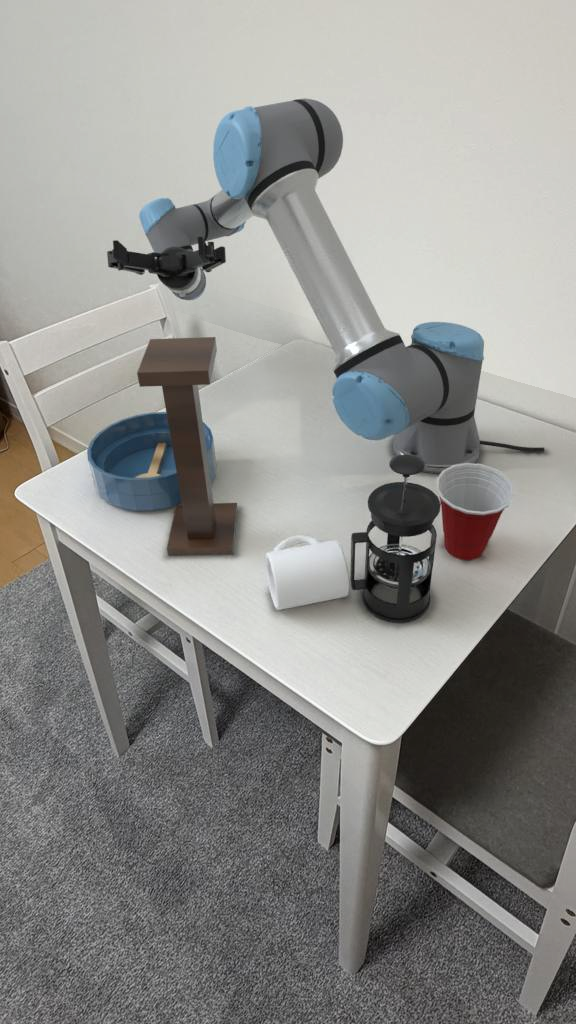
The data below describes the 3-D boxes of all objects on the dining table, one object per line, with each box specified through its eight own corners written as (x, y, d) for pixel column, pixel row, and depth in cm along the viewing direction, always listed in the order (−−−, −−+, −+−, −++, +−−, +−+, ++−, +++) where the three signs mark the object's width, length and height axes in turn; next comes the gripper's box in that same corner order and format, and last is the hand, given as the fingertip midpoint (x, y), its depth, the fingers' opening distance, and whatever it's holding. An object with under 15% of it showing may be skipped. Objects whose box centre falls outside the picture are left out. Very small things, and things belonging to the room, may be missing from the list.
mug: (349, 608, 94) (350, 565, 89) (278, 622, 93) (276, 580, 88) (325, 552, 104) (325, 511, 99) (261, 564, 102) (257, 523, 97)
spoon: (147, 447, 127) (145, 440, 126) (179, 447, 127) (177, 439, 126) (127, 501, 114) (125, 493, 113) (163, 501, 114) (161, 493, 113)
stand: (177, 511, 113) (147, 337, 94) (237, 509, 113) (219, 335, 94) (167, 556, 104) (132, 374, 85) (233, 554, 104) (211, 372, 85)
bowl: (221, 442, 129) (217, 410, 125) (210, 512, 112) (206, 478, 108) (110, 446, 130) (102, 413, 125) (83, 515, 113) (73, 481, 109)
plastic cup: (435, 575, 99) (443, 510, 91) (422, 527, 107) (429, 464, 100) (510, 572, 99) (525, 507, 91) (492, 524, 107) (504, 461, 100)
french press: (427, 572, 99) (443, 438, 85) (441, 620, 92) (462, 482, 78) (346, 577, 99) (349, 443, 85) (354, 626, 92) (359, 488, 78)
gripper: (244, 288, 131) (237, 268, 110) (115, 294, 131) (82, 275, 110) (242, 247, 130) (234, 219, 109) (111, 253, 130) (78, 226, 109)
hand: (158, 247), depth 110 cm, fingers open, 13 cm apart
